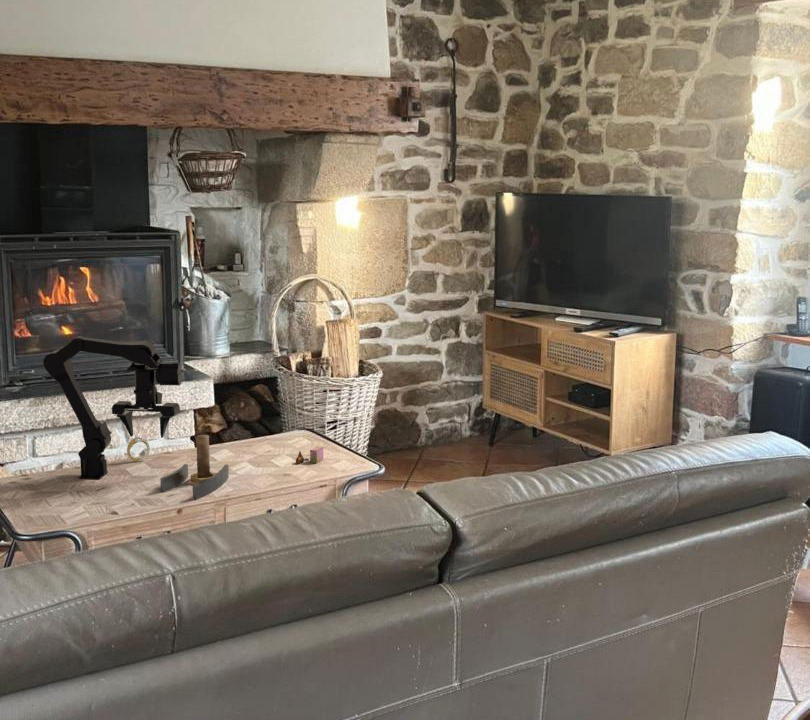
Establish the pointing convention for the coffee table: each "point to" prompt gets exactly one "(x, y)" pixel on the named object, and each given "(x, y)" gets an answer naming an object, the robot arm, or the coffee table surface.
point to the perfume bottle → (312, 455)
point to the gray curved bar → (198, 489)
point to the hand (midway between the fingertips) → (147, 436)
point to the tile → (191, 482)
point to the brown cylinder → (202, 460)
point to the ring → (135, 443)
